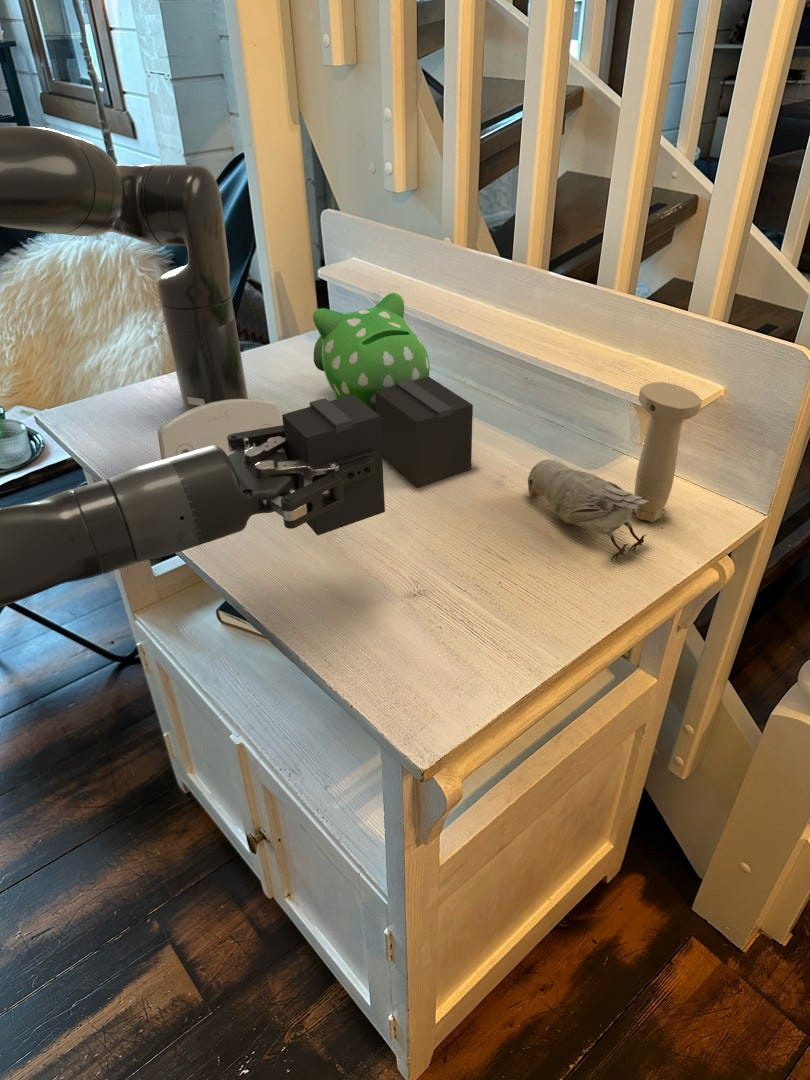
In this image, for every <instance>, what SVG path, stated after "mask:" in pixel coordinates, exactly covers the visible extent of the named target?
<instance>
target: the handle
mask: <svg viewBox="0 0 810 1080" xmlns="http://www.w3.org/2000/svg"><path fill="white" fill-rule="evenodd" d="M638 393H639V394H638V401H639V403H640V405H641V406H642V408H643V409H644V410H645V411H646V412H647V413H648V414H649V418H648V423H647V428H646V433H645V437H644V441H643V445H642V449H641V453H640V457H639V461H638V465H637V470H636V475H635V482H634V495H636V496H639V497H642V498H640V499H643V500H646V501H649V502H646V503H644V504H645V505H639V506H638V507H637V509H633V512H634V513H635V517H636V518H637V519H638V520H644V521H647V522H650V523H653V522H655V521H657V520H660V519H662V518H663V515H664V513H665V511H666V509H665V507H666V505H667V503H668V500H669V498H670V494H671V492H672V487H673V484H674V479H675V474H676V466H677V459H678V452H679V445H680V437H681V432H682V431H681V430H682V425H683V421H684V420H688V419H691V418H693V417H695V416H697V415H698V414H699V413H700V411H701V407H702V402H703V400H702V398H701V397H700V396H699V395H697V394H696V393H695V392H694V391H692V390H690V389H687V388H685V387H684V386H681V385H677V384H673V383H670V382H669V383H668V382H663V381H658V382H656V381H655V382H650V383H646V384H645V385H643V386H641V387H640V389H639V392H638Z"/></svg>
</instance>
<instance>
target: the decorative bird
mask: <svg viewBox="0 0 810 1080" xmlns="http://www.w3.org/2000/svg"><path fill="white" fill-rule="evenodd" d="M527 488H528V492H529V494H530V496H531V497H539V496H542V497H544V498H545V499H547V502H548V503H549V505H550V506H551V507H552V508H553V509H554V511H555V512H556V514H557V515H558V517H559V518H560V519H561V520H562V521H563V523H566V524H574V525H575V526H579V527H580V528H583V529H586V530H587V531H592V532H595V533H597V534H601V535H606V536H608V537H609V538H610V540H611V542H612V544H613V545H614V547H615V548H616V549H617V550H618V552H616V553H615V554H613V555H612V557H611V558H610V562H612V561H613V559H614V558H615V560H616V561H618V557H619V556H625V554H624V553H625V552H626V547H627V546H628V545H629V543H626V544H624V545H622V547H621V546H620V545H619V544H618V543H617V542H616V540H615V537H614V533H613V532H615V531H617V530H618V529H620V527H622V526H623V525H624V526H625V527H627V528H628V529H629V532H630V535H631V536H632V537H633V538H634V539H635V540H636V541H637V542H635V543H633V544H632V545H631V547H630V548H629V551H628V552H629V553H630V552H631V550H632V549H633V551H636V548H637V547H638V546H641V547H643V543H645V539H644V538H645V537H646V536H647V534H642V535H641V537H640V538H639V537H638V536H637V535H636V534H635V532H634V529H633V527H632V524H631V522H630V520H629V518H630V516H631V515H632V513H633V510H634V509H637V507H638V506H639V505H645V504H644V503H646V502H649V501H646V500H643V499H640V498H642V497H639V496H636V495H635V494H634V493H633V492H630V491H627V490H624V489H623V488H622V487H621V486H619V485H617V484H616V483H614V482H611V481H608V480H606V479H604V478H602V477H599V476H597V475H595V474H593V473H590V472H586V471H582V470H578V469H573V468H571V467H569V466H567V465H566V464H564V463H562V462H560V461H558V460H555V459H542V460H540V461H539V462H537V463H536V464H535V465H534V466H533V467H532V469H531V470H530V472H529V475H528V477H527Z"/></svg>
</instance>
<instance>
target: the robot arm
mask: <svg viewBox="0 0 810 1080" xmlns="http://www.w3.org/2000/svg"><path fill="white" fill-rule="evenodd" d="M0 227H3V228H10V229H19V230H27V231H28V230H29V231H36V232H40V233H41V232H43V233H47V234H55V235H63V236H64V235H65V236H72V237H73V236H75V237H95V236H101V235H104V234H106V233H114V234H118V235H121V236H125V237H129V238H131V239H135V240H137V241H140V242H144V243H146V244H150V245H157V246H170V247H171V246H172V247H173V246H174V247H186V249H187V264H186V265H183V266H180V267H178V268H175V269H172V270H170V271H168V272H166V273H164V274H163V275H162V276H161V277H159V279H158V280H157V286H156V287H157V292H158V293H157V294H158V297H159V302H160V306H161V311H162V316H163V319H164V324H165V328H166V332H167V337H168V343H169V347H170V350H171V351H170V352H171V356H172V359H173V364H174V369H175V373H176V378H177V382H178V386H179V393H180V397H181V401H182V406H183V409H184V410H183V413H184V412H186V411H188V410H190V409H193V408H196V407H198V406H201V405H205V404H208V403H212V402H217V401H222V400H230V399H249V393H248V389H247V381H246V376H245V369H244V363H243V358H242V353H241V345H240V340H239V334H238V329H237V327H238V326H237V322H236V316H235V310H234V304H233V299H232V292H231V285H230V284H231V283H230V259H229V252H228V244H227V236H226V235H227V233H226V226H225V216H224V207H223V201H222V195H221V191H220V188H219V185H218V183H217V180H216V178H215V176H214V174H213V173H212V172H211V171H210V170H209V168H207V167H205V166H202V165H196V164H195V165H194V164H142V165H125V164H118V163H117V164H116V162H115V161H114V159H113V158H112V157H111V156H110V155H109V154H108V153H107V152H106V151H105V150H104V149H103V148H102V147H100V146H98V145H96V144H95V143H93V142H91V141H88V140H86V139H84V138H82V137H78V136H74V135H71V134H67V133H64V132H60V131H58V130H54V129H50V128H45V127H39V126H27V125H26V126H25V125H8V126H6V125H5V126H4V125H3V126H0ZM273 437H275V438H273ZM269 438H273V439H271V440H270V441H268V439H269ZM227 439H228V447H229V452H230V454H228V455H227V454H226V453H225V452H224V451H223V450H222V449H221V448H220V447H218V446H209V447H205V448H202V449H198V450H195V451H191V452H188V453H184V454H181V455H177V456H174V457H170V458H167V459H163V460H161V459H160V460H157V461H153V462H150V463H146V464H142V465H139V466H136V467H132V468H130V469H128V470H125V471H123V472H121V473H118V474H117V475H114V476H112V477H109V478H107V479H102V480H98V481H95V482H91V483H88V484H84V485H81V486H78V487H75V488H72V489H67V490H64V491H61V492H58V493H56V494H53V495H51V496H48V497H45V498H42V499H40V500H36V501H33V502H27V503H22V504H15V505H11V506H5V507H2V506H1V504H0V609H1V608H3V607H6V606H8V605H9V606H10V605H11V604H14V603H17V602H20V601H22V600H25V599H27V598H30V597H32V596H34V595H38V594H41V593H43V592H45V591H48V590H51V589H53V588H56V587H58V586H60V585H63V584H67V583H74V582H78V581H83V580H88V579H92V578H95V577H99V576H102V575H106V574H108V573H111V572H114V571H116V570H120V569H123V568H126V567H129V566H133V565H134V564H136V563H141V562H146V561H149V560H154V559H160V558H164V557H168V556H171V555H174V554H178V553H180V552H184V551H186V550H189V549H192V548H194V547H198V546H201V545H204V544H207V543H210V542H213V541H216V540H219V539H221V538H225V537H228V536H230V535H234V534H237V533H239V532H242V531H243V530H244V529H246V527H247V524H248V521H249V519H250V518H251V517H252V516H254V515H260V514H270V513H274V512H275V513H276V514H277V515H279V516H281V517H282V519H283V525H284V527H285V529H288V530H289V529H290V530H291V529H292V530H293V529H296V528H298V527H300V526H302V525H303V524H305V523H306V522H308V521H309V520H311V519H313V518H315V517H317V516H319V515H321V514H323V513H325V512H327V511H328V510H330V509H332V508H334V507H336V506H338V505H340V504H342V503H343V502H344V493H343V486H344V485H346V484H348V483H351V482H354V481H357V480H360V479H363V478H367V477H370V476H372V475H373V474H375V473H376V472H377V471H378V456H377V454H376V453H375V452H374V451H373V450H371V449H369V450H366V451H362V452H359V453H356V454H353V455H350V456H346V457H343V458H340V459H337V460H336V462H335V461H330V462H324V463H321V464H317V465H314V466H312V465H311V464H310V463H308V461H307V460H306V459H302V460H293V461H290V457H289V450H288V442H287V440H286V439H285V433H284V426H283V425H281V426H275V427H269V428H263V429H257V430H251V431H245V432H239V433H233V434H230V435H228V436H227ZM267 441H268V442H267ZM254 444H255V446H254ZM298 473H301V474H302V475H303V478H304V487H302V488H300V489H298V487H299V478H298ZM321 474H326V476H325V477H323V478H321V479H319V480H317V481H315V482H313V480H312V478H313V476H315V475H321ZM297 489H298V490H297ZM328 493H329V495H328V496H326V497H325V498H323V499H322V494H328ZM306 524H307V523H306Z"/></svg>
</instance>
